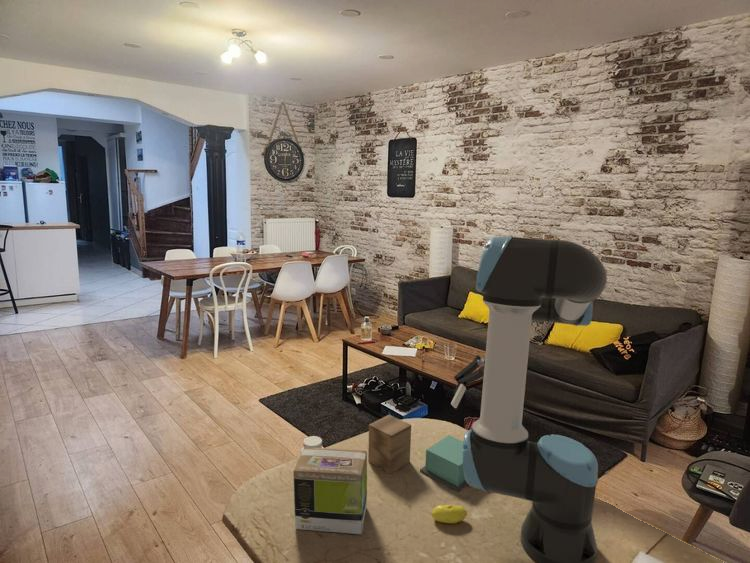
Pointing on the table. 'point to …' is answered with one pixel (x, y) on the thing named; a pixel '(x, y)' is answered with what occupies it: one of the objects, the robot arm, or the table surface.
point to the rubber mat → (456, 488)
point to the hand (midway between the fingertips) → (474, 414)
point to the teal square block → (446, 460)
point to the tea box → (330, 490)
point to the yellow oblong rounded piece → (449, 513)
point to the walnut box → (389, 443)
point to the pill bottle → (312, 442)
